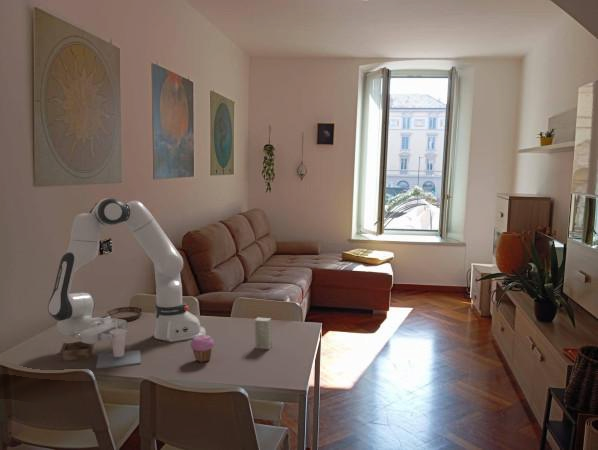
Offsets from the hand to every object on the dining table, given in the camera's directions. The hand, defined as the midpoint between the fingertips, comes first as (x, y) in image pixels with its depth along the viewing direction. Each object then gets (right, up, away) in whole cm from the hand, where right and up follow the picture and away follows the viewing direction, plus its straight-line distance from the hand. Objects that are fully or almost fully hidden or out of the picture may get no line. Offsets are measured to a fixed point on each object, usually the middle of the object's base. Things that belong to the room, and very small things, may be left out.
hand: (119, 333), depth 203 cm
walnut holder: (-19, -10, +7) cm, 23 cm away
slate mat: (-1, -10, +2) cm, 11 cm away
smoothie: (-1, -9, +1) cm, 9 cm away
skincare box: (+54, -9, +16) cm, 57 cm away
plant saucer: (-17, -4, +58) cm, 61 cm away
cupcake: (+32, -11, +1) cm, 34 cm away
